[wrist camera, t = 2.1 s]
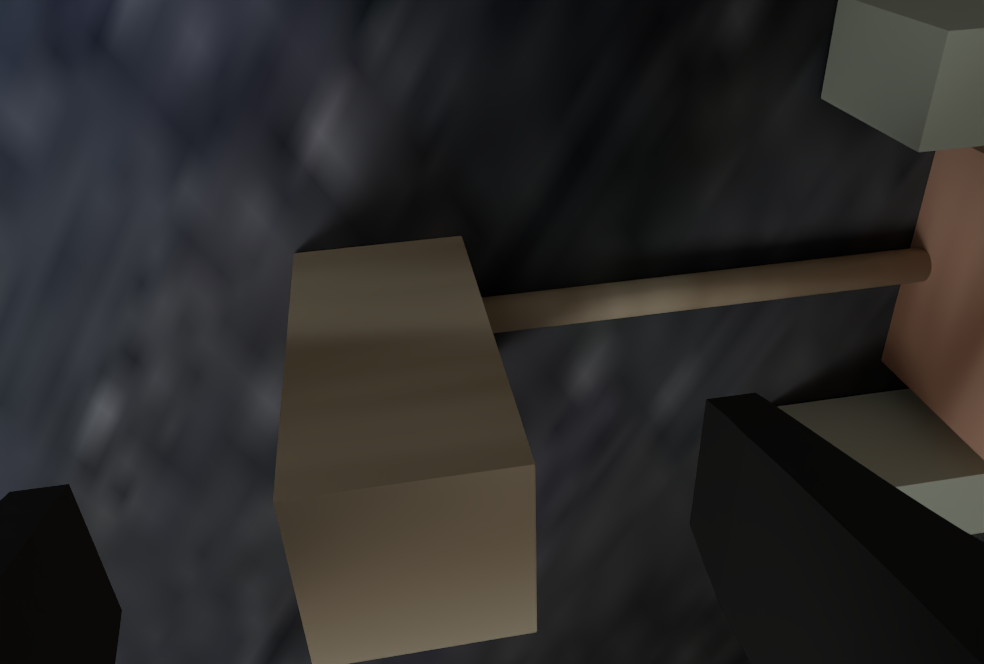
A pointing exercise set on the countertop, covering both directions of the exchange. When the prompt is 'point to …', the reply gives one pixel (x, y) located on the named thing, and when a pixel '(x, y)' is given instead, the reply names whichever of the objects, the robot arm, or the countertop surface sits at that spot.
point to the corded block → (495, 419)
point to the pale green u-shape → (923, 127)
